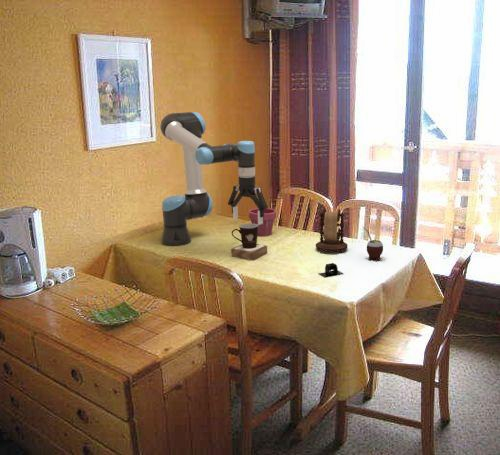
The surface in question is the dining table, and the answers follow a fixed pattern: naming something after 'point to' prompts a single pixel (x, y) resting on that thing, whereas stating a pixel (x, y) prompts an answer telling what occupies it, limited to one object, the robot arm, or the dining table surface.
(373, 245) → the mate gourd
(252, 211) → the plant pot
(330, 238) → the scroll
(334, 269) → the black hat
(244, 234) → the coffee mug
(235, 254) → the plinth
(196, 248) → the dining table surface
